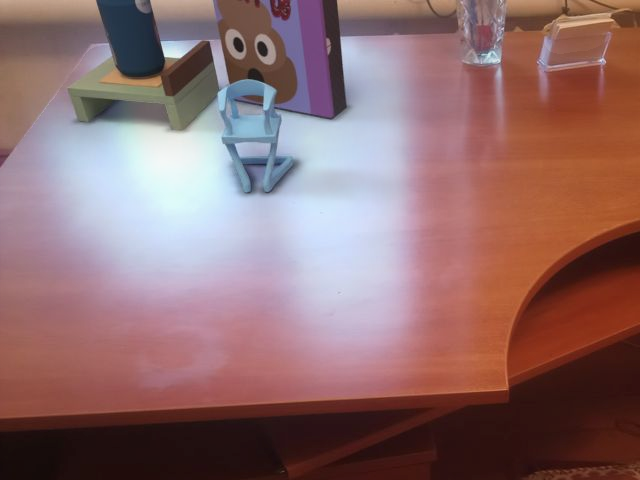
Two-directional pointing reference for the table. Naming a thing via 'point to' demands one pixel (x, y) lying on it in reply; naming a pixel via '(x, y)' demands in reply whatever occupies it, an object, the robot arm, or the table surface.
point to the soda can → (132, 37)
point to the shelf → (152, 87)
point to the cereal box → (285, 52)
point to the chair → (253, 131)
